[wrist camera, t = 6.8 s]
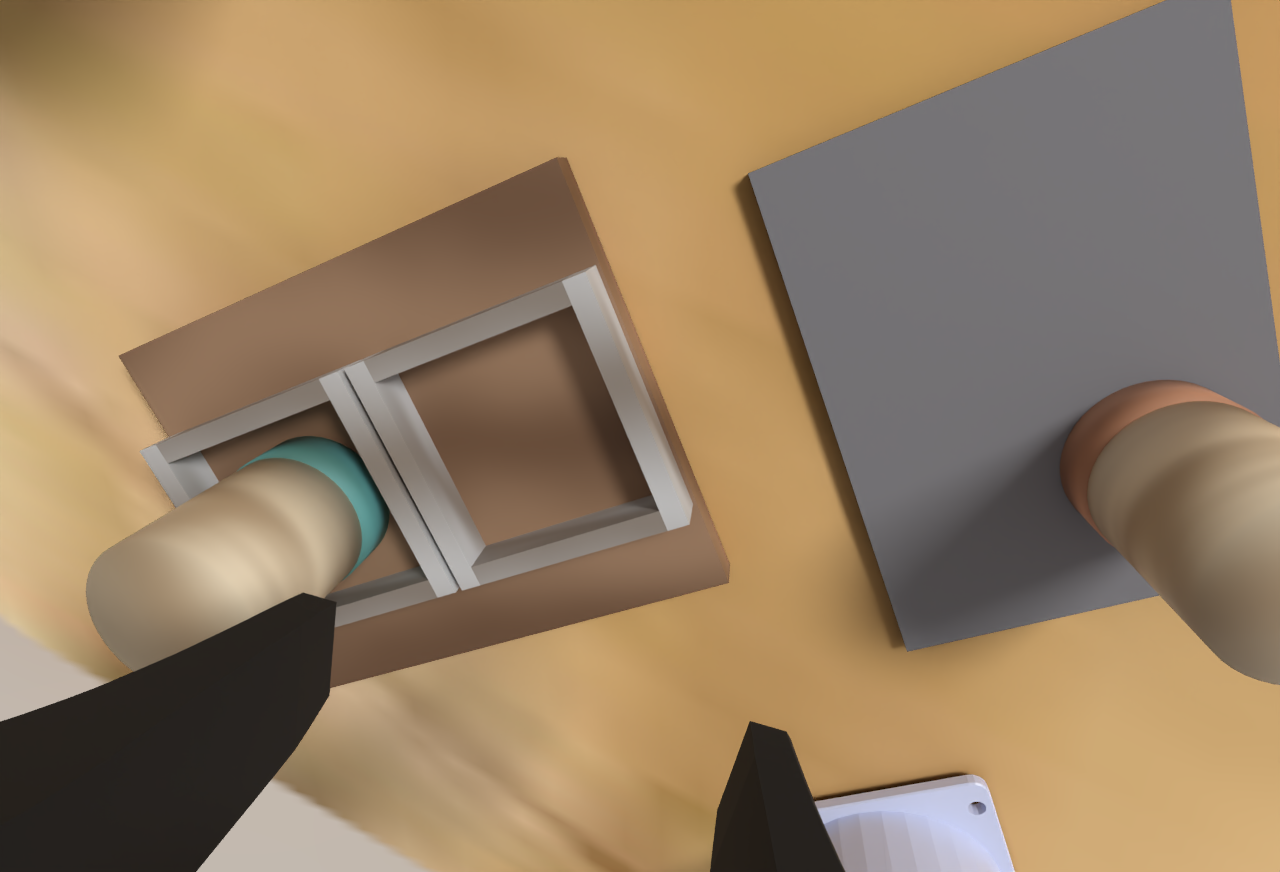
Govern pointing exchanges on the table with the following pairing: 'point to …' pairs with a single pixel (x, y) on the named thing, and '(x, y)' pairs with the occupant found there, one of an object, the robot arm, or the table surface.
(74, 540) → the table surface
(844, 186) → the mat
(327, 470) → the cream teal cylinder
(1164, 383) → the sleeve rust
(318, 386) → the brown compartment tray
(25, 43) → the table surface
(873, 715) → the table surface
